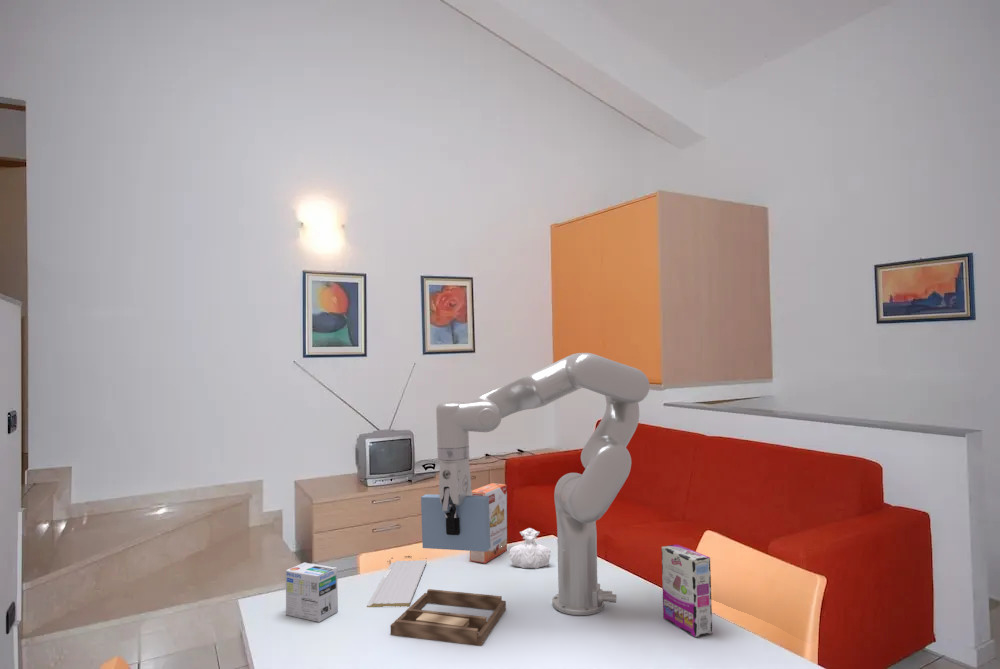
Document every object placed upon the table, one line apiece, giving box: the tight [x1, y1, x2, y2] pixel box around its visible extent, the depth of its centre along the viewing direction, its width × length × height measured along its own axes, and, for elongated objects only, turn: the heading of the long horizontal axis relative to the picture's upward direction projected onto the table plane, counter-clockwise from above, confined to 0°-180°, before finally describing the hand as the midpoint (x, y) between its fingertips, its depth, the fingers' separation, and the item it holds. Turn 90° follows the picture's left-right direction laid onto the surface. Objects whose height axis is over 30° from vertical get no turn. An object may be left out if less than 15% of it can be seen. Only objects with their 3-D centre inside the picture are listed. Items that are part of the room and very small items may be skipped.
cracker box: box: [469, 482, 508, 564], centre depth 184 cm, size 14×6×21 cm, turn 152°
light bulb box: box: [285, 562, 339, 623], centre depth 144 cm, size 11×7×11 cm, turn 65°
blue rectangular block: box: [420, 493, 491, 552], centre depth 142 cm, size 16×3×12 cm, turn 74°
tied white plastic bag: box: [508, 527, 551, 570], centre depth 176 cm, size 12×8×11 cm
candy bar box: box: [660, 544, 713, 638], centre depth 134 cm, size 11×5×16 cm, turn 23°
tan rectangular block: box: [416, 613, 469, 627], centre depth 133 cm, size 12×4×3 cm, turn 70°
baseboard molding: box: [366, 555, 428, 608], centre depth 163 cm, size 31×3×12 cm
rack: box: [389, 588, 507, 646], centre depth 138 cm, size 21×19×3 cm
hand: (455, 531), depth 142 cm, fingers closed on blue rectangular block, 3 cm apart
